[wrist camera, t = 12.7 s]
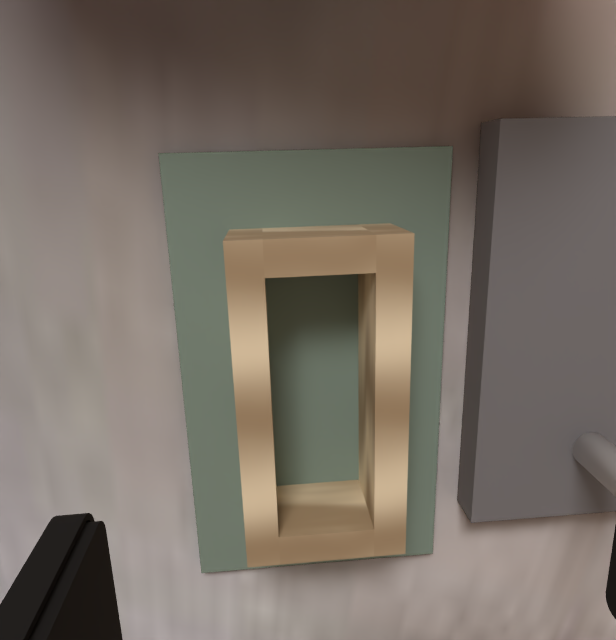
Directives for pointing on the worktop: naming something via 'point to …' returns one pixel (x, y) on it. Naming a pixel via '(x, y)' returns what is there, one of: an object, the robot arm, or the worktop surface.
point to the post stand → (542, 322)
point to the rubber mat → (301, 321)
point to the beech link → (373, 393)
